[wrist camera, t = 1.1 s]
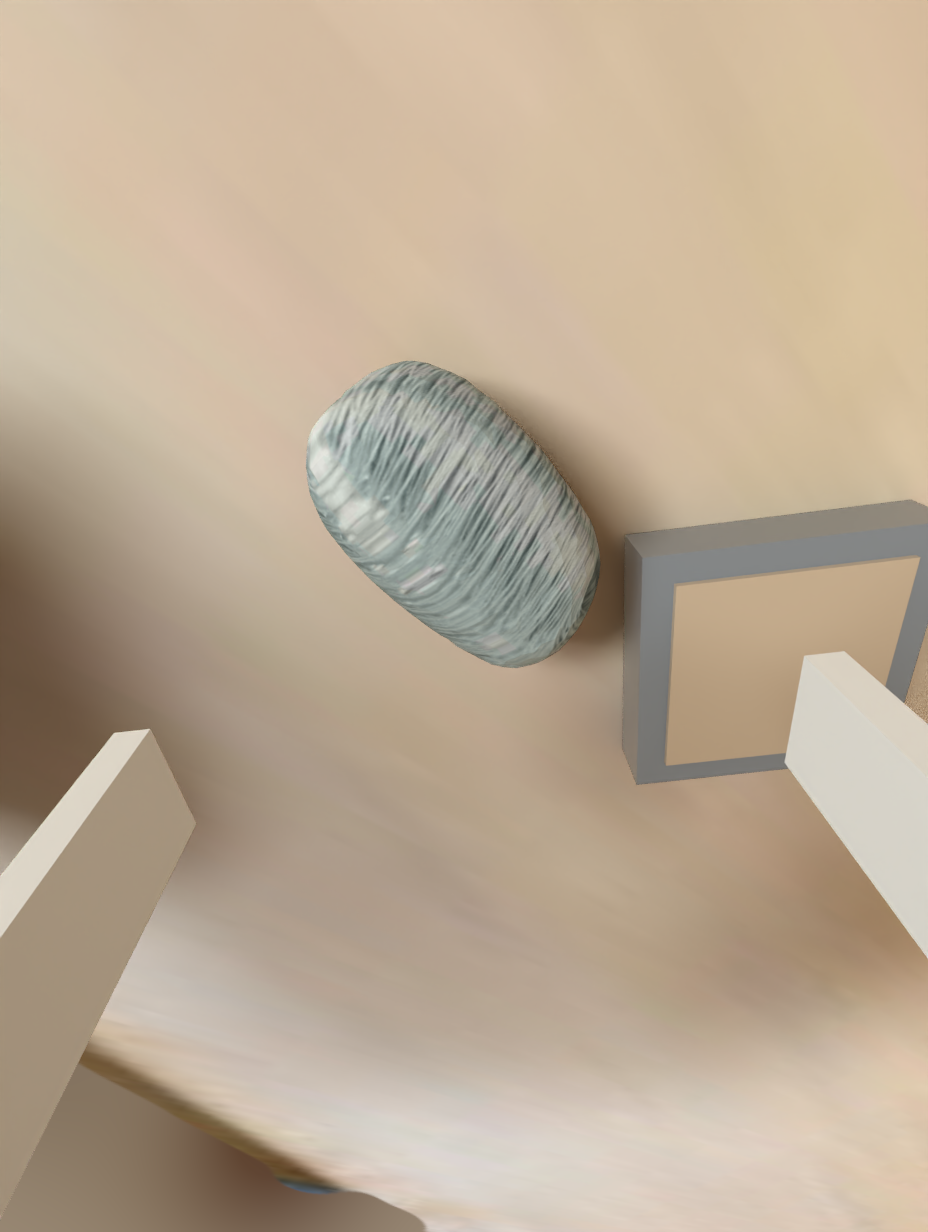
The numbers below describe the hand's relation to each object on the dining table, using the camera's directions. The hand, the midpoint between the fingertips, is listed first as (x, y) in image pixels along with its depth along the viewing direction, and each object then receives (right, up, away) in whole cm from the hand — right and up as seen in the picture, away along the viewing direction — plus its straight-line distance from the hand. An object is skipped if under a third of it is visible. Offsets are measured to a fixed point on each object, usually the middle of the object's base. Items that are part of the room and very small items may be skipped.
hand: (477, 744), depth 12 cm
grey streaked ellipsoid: (-1, +9, +16) cm, 18 cm away
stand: (+16, +1, +20) cm, 25 cm away
